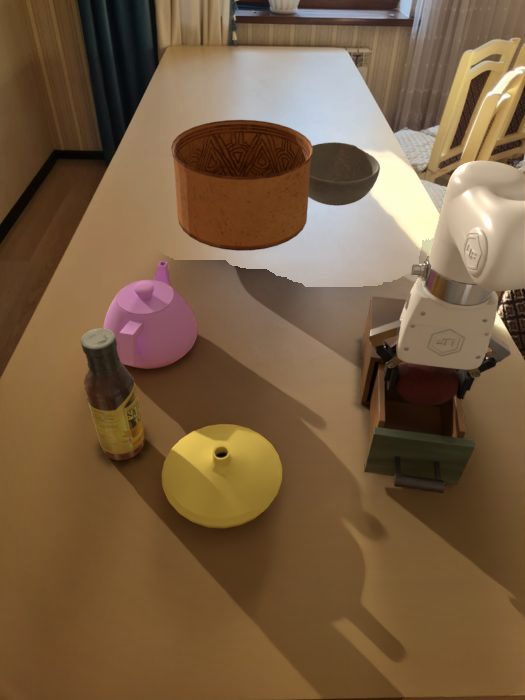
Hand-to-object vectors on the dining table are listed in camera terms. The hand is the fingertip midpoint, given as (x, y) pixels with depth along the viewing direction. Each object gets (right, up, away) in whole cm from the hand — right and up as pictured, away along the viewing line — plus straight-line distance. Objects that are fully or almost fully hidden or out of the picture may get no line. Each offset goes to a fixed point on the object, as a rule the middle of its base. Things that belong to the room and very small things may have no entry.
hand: (424, 386), depth 71 cm
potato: (0, -1, +1) cm, 2 cm away
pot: (-26, +30, +48) cm, 62 cm away
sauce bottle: (-41, -9, +6) cm, 42 cm away
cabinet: (+2, +1, +17) cm, 17 cm away
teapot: (-40, +6, +22) cm, 46 cm away
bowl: (-4, +42, +62) cm, 75 cm away
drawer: (-1, -9, +5) cm, 11 cm away
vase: (-27, -13, +2) cm, 30 cm away
